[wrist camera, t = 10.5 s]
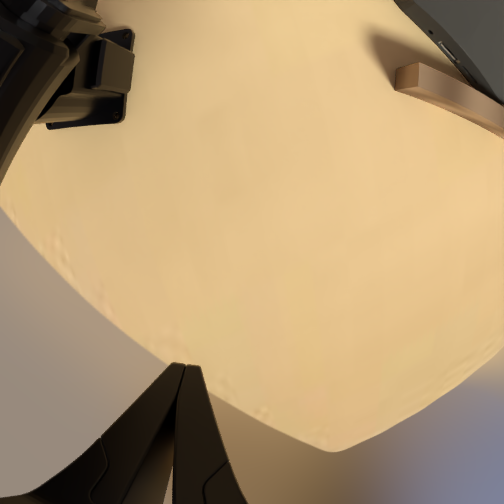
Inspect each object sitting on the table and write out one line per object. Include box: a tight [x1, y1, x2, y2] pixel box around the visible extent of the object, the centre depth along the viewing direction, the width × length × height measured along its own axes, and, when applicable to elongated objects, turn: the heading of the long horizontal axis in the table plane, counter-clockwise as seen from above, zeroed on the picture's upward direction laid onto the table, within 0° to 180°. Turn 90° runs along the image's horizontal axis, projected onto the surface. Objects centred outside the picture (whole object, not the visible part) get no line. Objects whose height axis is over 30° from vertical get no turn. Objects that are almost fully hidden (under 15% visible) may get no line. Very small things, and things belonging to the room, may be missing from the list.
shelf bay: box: [395, 62, 504, 139], centre depth 9 cm, size 18×21×3 cm
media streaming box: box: [394, 0, 504, 104], centre depth 10 cm, size 15×15×3 cm
